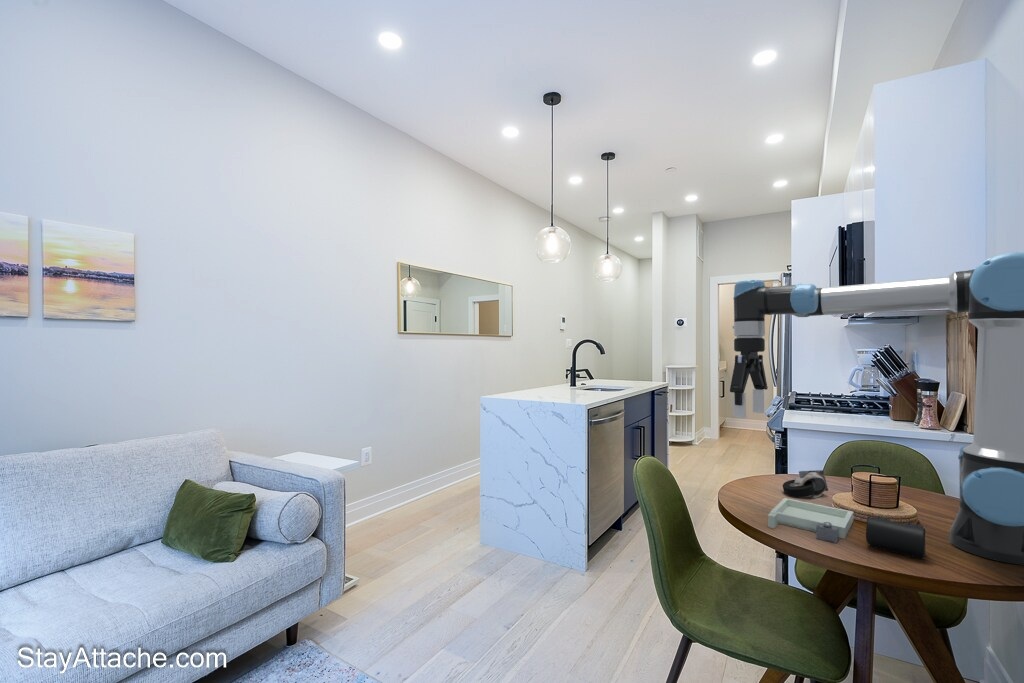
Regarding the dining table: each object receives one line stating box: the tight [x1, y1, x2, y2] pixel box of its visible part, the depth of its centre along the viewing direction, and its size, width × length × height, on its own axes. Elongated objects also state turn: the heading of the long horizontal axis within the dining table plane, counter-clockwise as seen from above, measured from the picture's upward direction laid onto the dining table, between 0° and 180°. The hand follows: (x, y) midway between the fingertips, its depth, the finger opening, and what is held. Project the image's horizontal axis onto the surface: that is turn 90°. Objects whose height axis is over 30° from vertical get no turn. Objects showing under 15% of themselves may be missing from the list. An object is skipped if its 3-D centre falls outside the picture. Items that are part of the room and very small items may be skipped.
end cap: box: [865, 515, 926, 560], centre depth 106 cm, size 10×7×7 cm
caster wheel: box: [782, 469, 829, 499], centre depth 145 cm, size 7×11×10 cm
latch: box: [815, 522, 840, 544], centre depth 112 cm, size 4×3×4 cm
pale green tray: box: [767, 497, 854, 540], centre depth 122 cm, size 16×20×3 cm
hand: (749, 415), depth 129 cm, fingers open, 13 cm apart
